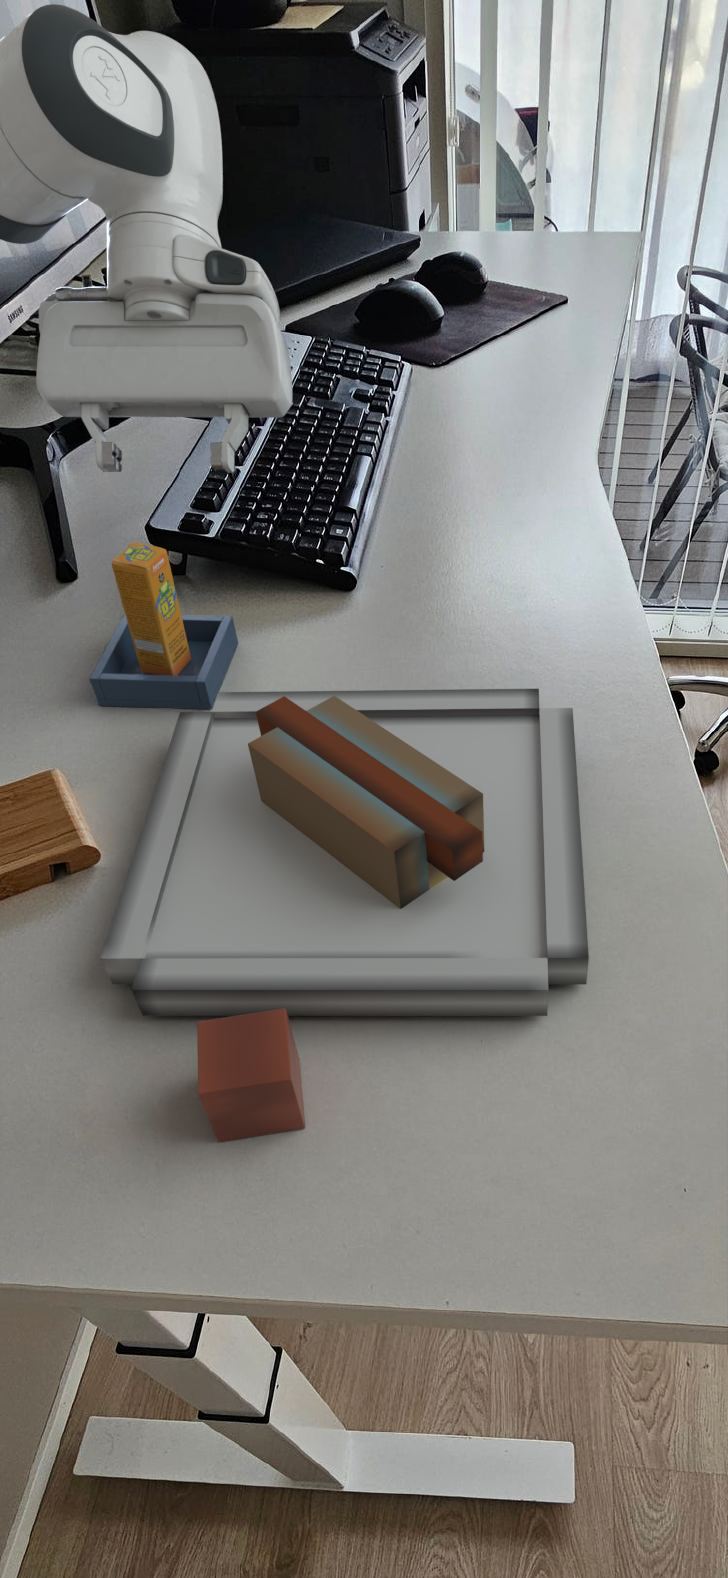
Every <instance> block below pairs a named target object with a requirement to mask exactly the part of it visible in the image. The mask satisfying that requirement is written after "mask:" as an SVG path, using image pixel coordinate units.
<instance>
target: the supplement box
mask: <svg viewBox="0 0 728 1578" xmlns="http://www.w3.org/2000/svg"><path fill="white" fill-rule="evenodd" d="M111 568H112V572H113V575H114V579H115V582H116V586H117V590H118V593H119V596H120V601H121V604H122V608H123V611H124V614H125V615H126V619H127V623H128V626H129V630H130V633H131V637H132V640H133V644H134V647H135V651H136V655H137V658H138V662H139V665H140V669H141V672H143V673H144V674H147V675H169V676H178V675H179V674H180V672H181V671H182V670H183V669H184V668H185V666H186V665H187V664H188V663H189V662H190V661H191V656H190V652H189V647H188V643H187V638H186V634H185V630H184V625H183V621H182V616H181V615H182V612H181V607H180V603H179V599H178V595H177V590H176V587H175V582H174V578H173V573H172V568H171V564H170V560H169V555H168V551H167V549H165V548H163V547H159V546H155V545H151V544H146V543H141V542H135V541H131V542H129V544H128V545H127V547H126V548H125V549H124V550H123V551H122V552H121V553H120V554H119V555H117V556H115V557H114V558H113V559H112V561H111Z"/></svg>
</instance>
